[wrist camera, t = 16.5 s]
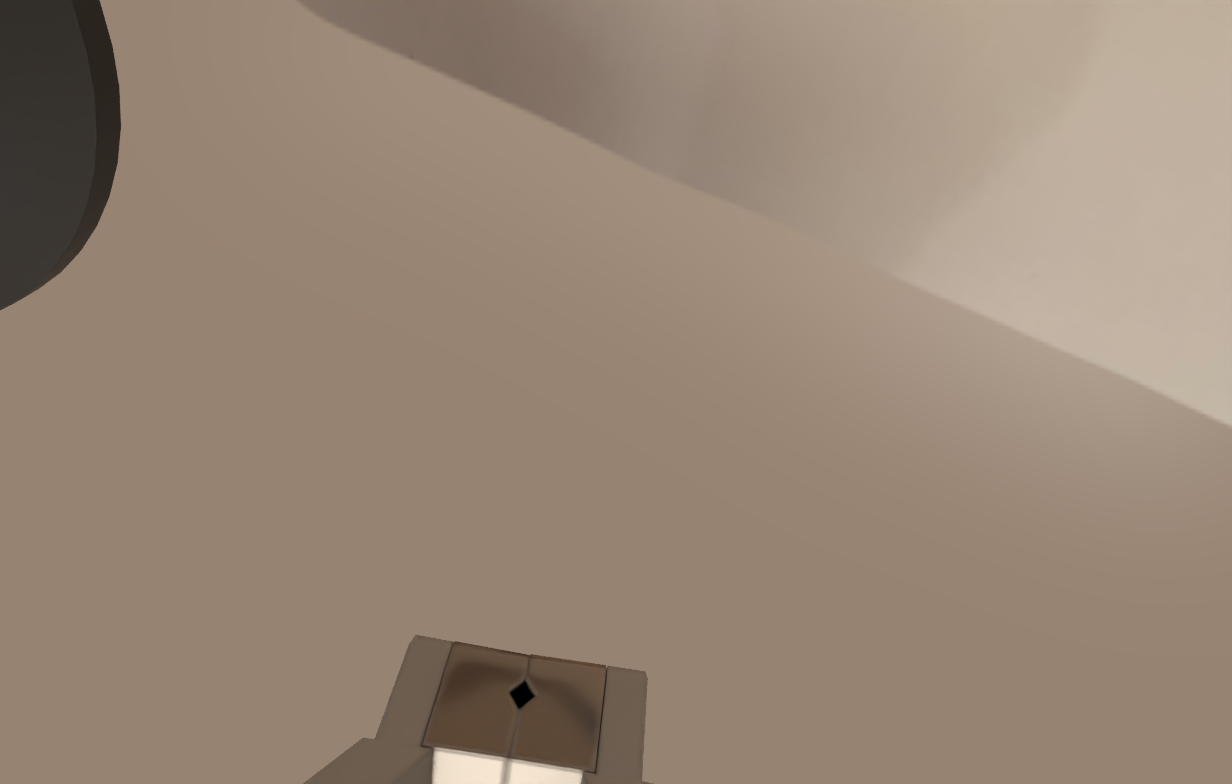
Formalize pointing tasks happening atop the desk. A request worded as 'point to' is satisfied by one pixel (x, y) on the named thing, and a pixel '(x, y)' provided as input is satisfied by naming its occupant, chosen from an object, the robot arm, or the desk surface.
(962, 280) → the desk surface
